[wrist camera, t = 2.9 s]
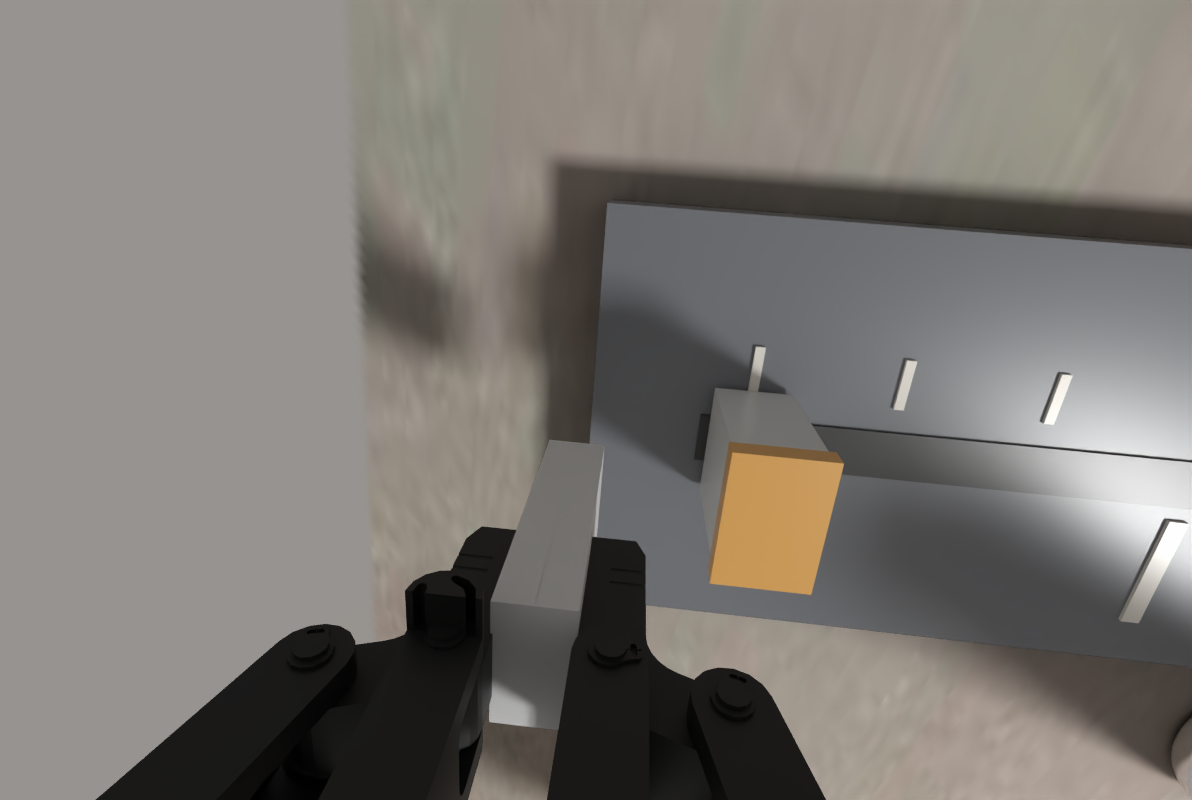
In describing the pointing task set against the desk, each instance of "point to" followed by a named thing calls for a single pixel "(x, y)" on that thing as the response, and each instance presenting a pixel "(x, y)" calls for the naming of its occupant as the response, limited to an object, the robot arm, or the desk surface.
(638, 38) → the desk surface
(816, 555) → the fader tab
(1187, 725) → the water bottle
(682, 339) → the console
